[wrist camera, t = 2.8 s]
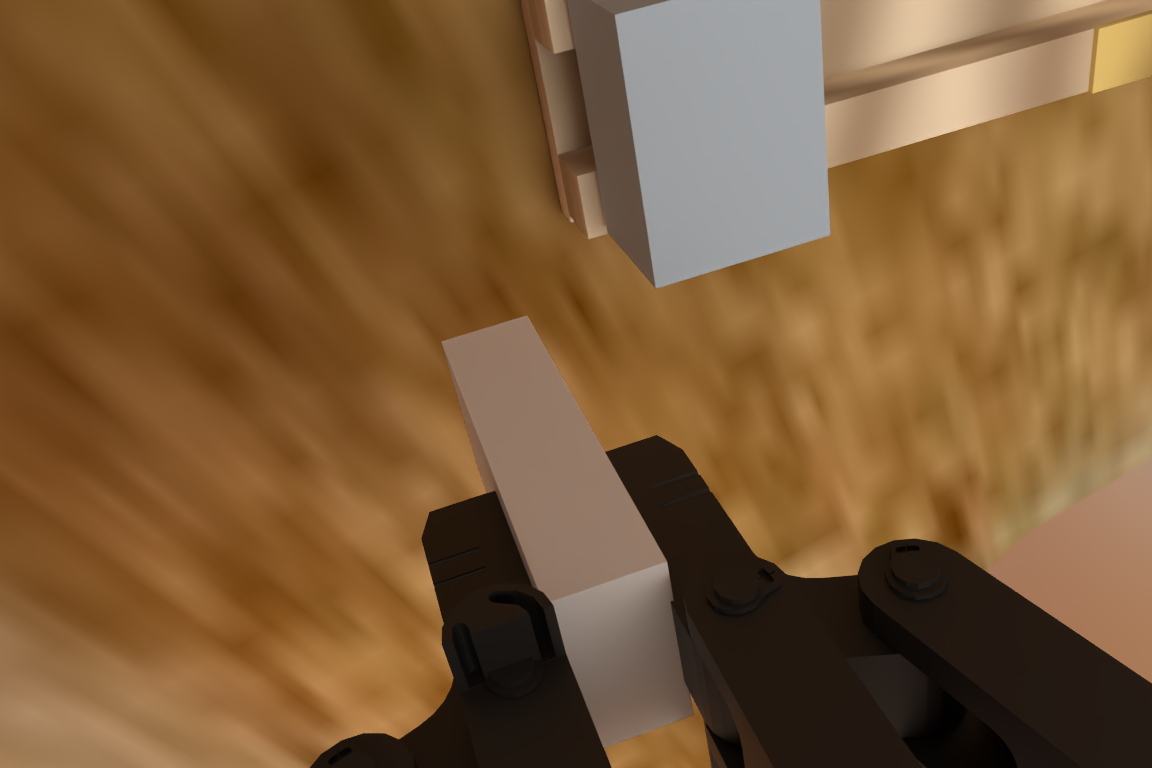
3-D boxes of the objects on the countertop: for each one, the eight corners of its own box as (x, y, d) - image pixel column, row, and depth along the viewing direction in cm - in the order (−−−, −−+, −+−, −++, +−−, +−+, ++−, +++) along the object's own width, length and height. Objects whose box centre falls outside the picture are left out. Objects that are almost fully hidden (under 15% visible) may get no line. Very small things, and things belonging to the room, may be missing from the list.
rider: (587, 208, 32) (655, 288, 27) (543, -29, 28) (614, 14, 23) (736, 164, 33) (830, 235, 28) (714, -72, 29) (818, -39, 24)
